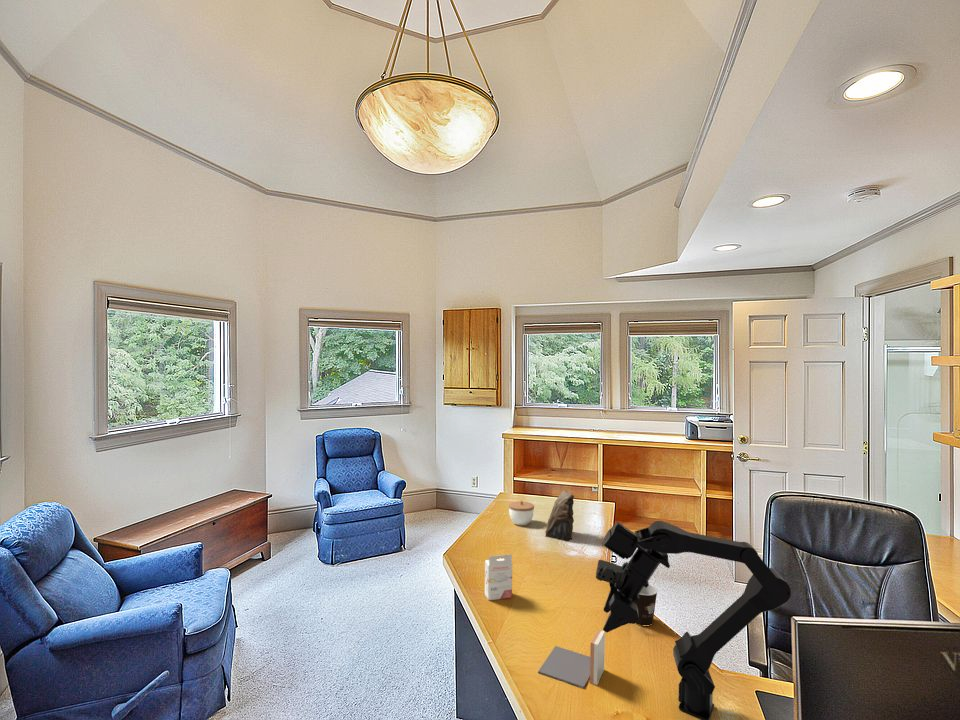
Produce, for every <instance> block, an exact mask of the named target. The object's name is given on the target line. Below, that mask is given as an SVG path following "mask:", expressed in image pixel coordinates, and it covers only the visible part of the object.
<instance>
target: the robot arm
mask: <svg viewBox="0 0 960 720" xmlns="http://www.w3.org/2000/svg"><path fill="white" fill-rule="evenodd" d="M601 545H602V546H603V547H605V548H606V549H607V550H609V551H610V552H612V554H613V553H614V554H615V555H617V556H618V557H619V558H621V559H622V560H625V559H626V560H628V559H630V560H629V561H625V562H623V563H622V565H619V564H616V563H613V562H610V561H607V560H603V559H598V561H597V565H596V566H597V567H596V571H595V579H596V580H597V581H600V582H602V581H603V582H607V583H608V584H609V588H610V589H609V591H608V595H607V598H606V601H605V605H604V607H603V611H604V613H606V614H608V613H609V614H608V616H607V619H606V621H605V623H604V625H603V628H602V631H605V633H610V632H611V631H614V630H615V629H618V628H620V627H623V626H625V625H629V624H631V625H632V624H633V625H636V624H635V623H636V621H637V620H638V618H639V614H638V608H637V604H635V603H634V602H632V601H631V599H633V600H635V601H636V602H637V601H638V600H639V594H640V592H641V591H642V589H643V588H644V587H646V588H647V587H648V585H650V584H649V583H650V582H649V581H650V579H651V577H652V576H653V574H654V573H655V572H656V570H657V569H658V567H659V566H660V565H663V567H666V568H667V569H669V568H671V566H670V561H669V554H671V555H672V554H673V555H675V554H676V555H678V554H684V553H692V554H698V555H702V556H707V557H713V558H715V559H716V558H717V559H723V560H726V561H732V562H737V563H742V564H745V566H746V568H748V570H749V571H750V572H751V573H752V575H751V576H750V578H749V579H748V580H747V583H746V586H745V588H744V591H743V592H742V595H740V596H739V597H738V598H737V599H736V600H735V601H734V602H733V603H731V605H729V606H728V607H727V608H726V609H725V610H724V611H723V612H722V613H721V614H720V615H718V616H717V617H716V618H715V619H714V620H713V621H712V622H711V623H710V624H709V625H708V626H707V627H706V628H704V629H703V630H702V631H701V632H700V633H698V634H694V635H691V634H690V632H689V631H685V632H684V634H682V636H681V637H680V638H678V639H677V640H675V641H674V643H675V644H674V646H673V649H672V650H673V651H672V652H673V653H672V655H673V658H674V662H675V665H676V669H677V673H678V674H679V675H680V677H681V679H680V681H679V683H678V699H677V700H678V702H679V705H678V709H679V711H682V712H685V713H687V714H688V715H689V714H690V715H692V716H695V717H697V718H699V719H700V720H710V719H711V717H712V713H713V711H714V708H715V704H714V703H713V701H714V700H713V698H714V697H713V696H714V690H715V688H716V686H715V684H714V681H713V678H712V675H711V673H710V670H709V669H710V667H711V666H712V663H713V660H714V658H715V655H716V654H717V653H718V652H719V651H720V650H721V649H723V648H724V647H725V646H726V645H727V644H728V643H729V642H730V641H731V640H732V639H733V638H735V636H737V635H738V634H739V633H740V632H741V631H742V630H743V629H744V628H746V627H747V626H748V625H749V624H750V623H751V622H753V620H755V619H756V618H757V617H758V616H759V615H760V614H762V613H766V612H769V611H774V610H777V609H779V608H780V607H781V606H783V605H784V604H786V603H788V602H789V601H790V599H791V597H792V590H791V587H790V585H789V584H788V583H787V581H786V580H785V579H784V578H783V577H782V576H781V575H780V574H779V573H778V571H776V570H775V569H774V568H771V567H769V566H768V565H767V564H766V563H765V561H764V560H763V559H762V558H761V556H759V554H758V553H759V552H757V550H756V549H755V548H754V547H753V546H752V545H751V543H749V542H747V541H737V540H732V539H727V538H721V537H715V536H712V535H711V536H709V535H704V534H699V533H693V532H690V531H688V530H685V529H682V528H681V527H679V526H676V525H674V524H672V523H670V522H666V521H663V520H655V521H653V522H652V523H651V524H650V525H649V526H648V527H647V526H646V527H644V528H640V529H638V530H635V531H634V532H633V531H631V530H630V529H629V528H627V527H626V526H625V525H624V524H623V523H621V521H620V522H619V521H616V522H615V524H614V525H612V527H611V528H610V529H608V531H607V532H606V534H605V535H604V537H603V541H602V543H601Z"/></svg>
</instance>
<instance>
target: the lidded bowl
mask: <svg viewBox="0 0 960 720" xmlns="http://www.w3.org/2000/svg"><path fill="white" fill-rule="evenodd" d="M534 511H535V504H533V503H531V502H528V501H523V500H520V501H512V502H510V503H508V514H509V517H510V520H511V521H512V523H513V524H514V525H517V526H527V525H529V523H531V521H532V520H533V518H534V514H535V513H534Z"/></svg>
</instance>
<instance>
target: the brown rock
mask: <svg viewBox="0 0 960 720" xmlns="http://www.w3.org/2000/svg"><path fill="white" fill-rule="evenodd" d="M561 491H562V492H561V493H560V494H559V495H558V497H557V499H556V500H555V501H554V504H553V507H552V510H551V512H550V515H549V517H548V521H547V524H546V529H545V533H544V534H545V535H544V537H546V538H550V539H555V540H559V541H563V542H570V541H571V540H573V537H572V535H573V531H574V510H573V507H574V506H573V505H574V498H575V496H574V495H573V494H572V493H569V492H567V490H565V489H563V490H561Z"/></svg>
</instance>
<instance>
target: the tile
mask: <svg viewBox="0 0 960 720" xmlns="http://www.w3.org/2000/svg"><path fill="white" fill-rule="evenodd" d="M605 639H606V632H605V631H604V630H603V629H602V630H601V629H597V630H596V632H595V635H593V638H592V639H591V642H590V650H589V651H590V653H589V654H590V655H589V657H590V677H589V683H590V684H592V685H595V686H598V684H599V682H600V680H601V678H602V675H603V674H604V671H605V644H606V643H605V641H606V640H605Z"/></svg>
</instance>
